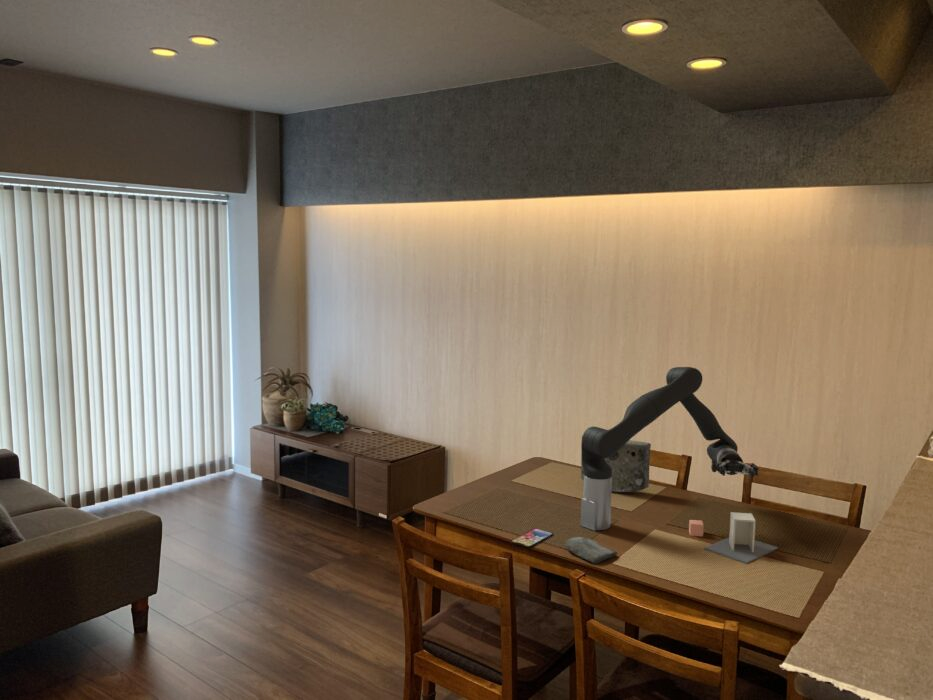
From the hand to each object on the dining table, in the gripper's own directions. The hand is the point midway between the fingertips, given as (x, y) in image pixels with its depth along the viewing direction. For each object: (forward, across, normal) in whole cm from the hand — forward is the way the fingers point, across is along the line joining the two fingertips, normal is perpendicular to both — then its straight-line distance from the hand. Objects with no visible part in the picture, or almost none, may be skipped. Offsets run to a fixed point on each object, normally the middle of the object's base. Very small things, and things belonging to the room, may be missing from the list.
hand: (737, 473), depth 233 cm
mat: (+11, 0, +21) cm, 23 cm away
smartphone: (+16, -64, +23) cm, 69 cm away
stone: (+24, -46, +22) cm, 56 cm away
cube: (0, -12, +21) cm, 24 cm away
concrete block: (-41, -38, +21) cm, 60 cm away
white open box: (+11, 0, +20) cm, 23 cm away
